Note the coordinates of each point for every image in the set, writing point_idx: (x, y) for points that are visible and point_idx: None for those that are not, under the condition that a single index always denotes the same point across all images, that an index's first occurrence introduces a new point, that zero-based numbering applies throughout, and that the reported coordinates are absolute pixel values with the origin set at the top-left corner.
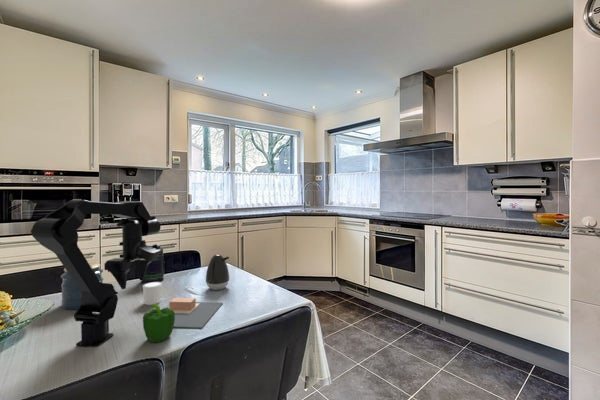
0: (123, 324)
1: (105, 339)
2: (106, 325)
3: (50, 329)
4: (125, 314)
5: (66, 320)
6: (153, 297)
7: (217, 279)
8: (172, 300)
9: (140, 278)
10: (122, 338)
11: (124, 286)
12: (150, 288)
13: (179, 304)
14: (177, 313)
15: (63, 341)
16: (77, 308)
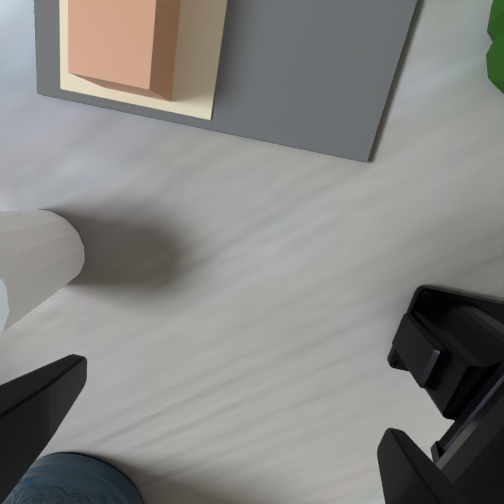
0: (308, 286)
1: (473, 297)
2: (487, 331)
3: (300, 497)
4: (198, 318)
5: (233, 485)
6: (52, 242)
7: None
8: (125, 71)
9: (73, 392)
10: (463, 234)
11: (430, 460)
12: (9, 279)
13: (164, 4)
14: (225, 24)
15: (412, 428)
16: (138, 497)
